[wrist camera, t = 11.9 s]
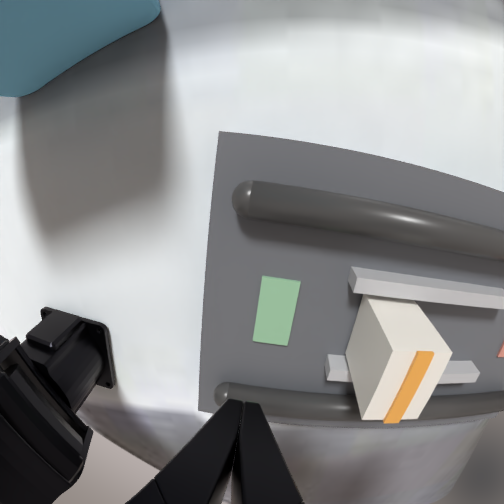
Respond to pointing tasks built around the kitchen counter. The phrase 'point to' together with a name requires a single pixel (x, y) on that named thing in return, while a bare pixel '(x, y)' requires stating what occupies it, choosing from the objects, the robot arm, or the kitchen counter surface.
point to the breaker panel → (344, 278)
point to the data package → (60, 36)
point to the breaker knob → (394, 358)
